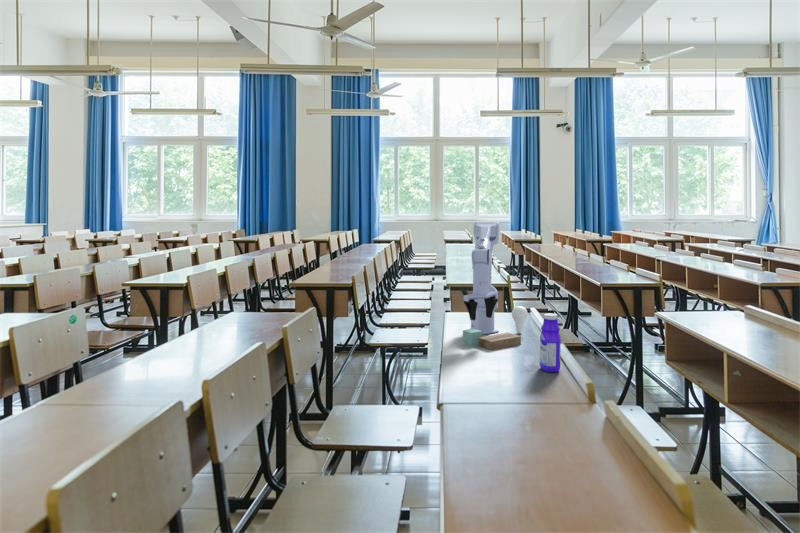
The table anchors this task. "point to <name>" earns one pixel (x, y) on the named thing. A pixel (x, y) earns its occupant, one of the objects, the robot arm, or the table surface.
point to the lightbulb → (519, 318)
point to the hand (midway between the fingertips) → (480, 318)
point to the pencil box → (499, 341)
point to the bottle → (550, 344)
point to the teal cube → (471, 336)
